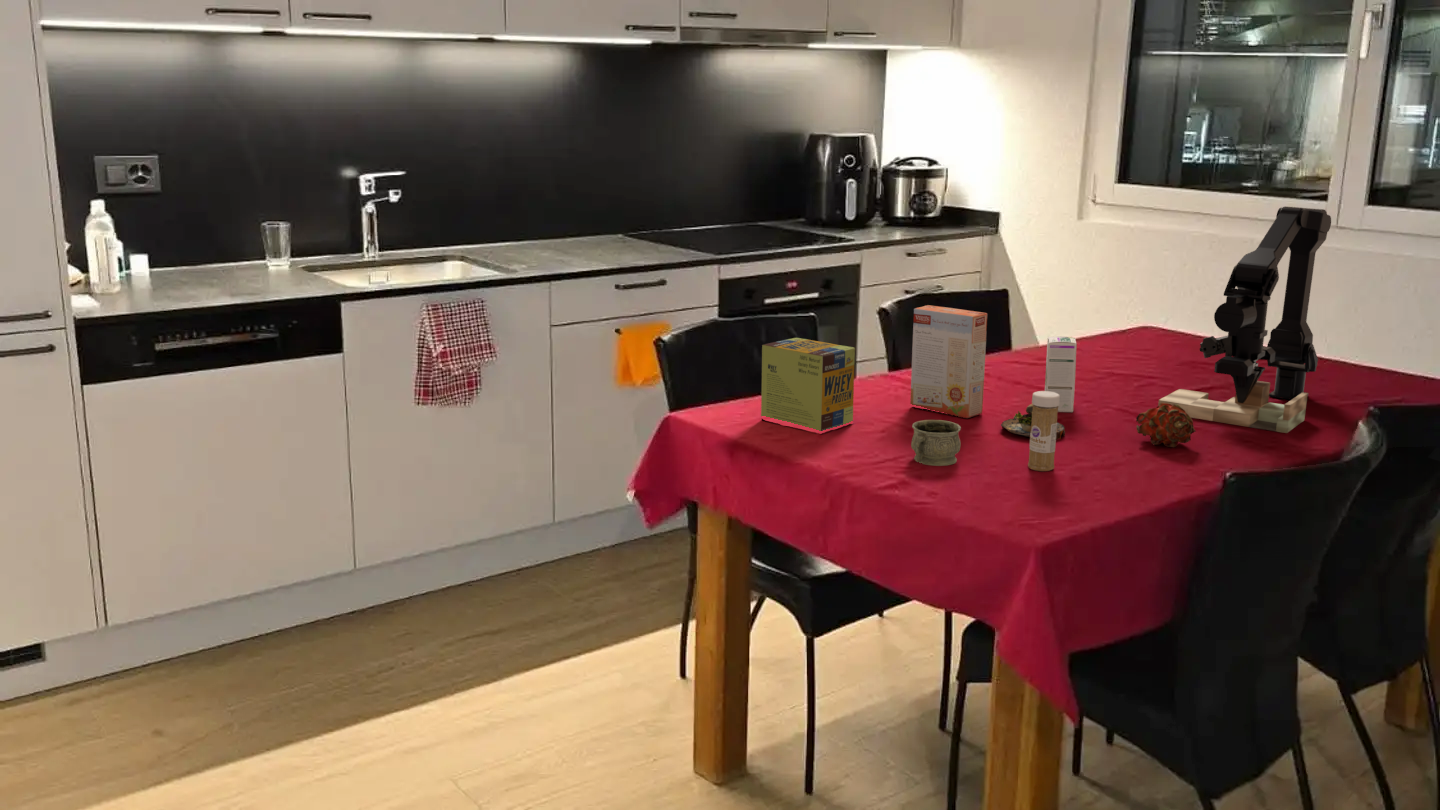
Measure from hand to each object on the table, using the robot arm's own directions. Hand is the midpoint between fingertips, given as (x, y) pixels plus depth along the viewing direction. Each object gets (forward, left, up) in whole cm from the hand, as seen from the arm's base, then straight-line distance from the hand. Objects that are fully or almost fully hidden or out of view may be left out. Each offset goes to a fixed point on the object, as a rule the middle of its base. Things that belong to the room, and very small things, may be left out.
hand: (1241, 402), depth 254 cm
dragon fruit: (+27, -6, -4) cm, 28 cm away
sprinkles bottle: (+55, -17, -4) cm, 58 cm away
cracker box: (+31, -49, -4) cm, 58 cm away
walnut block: (-5, +1, -1) cm, 5 cm away
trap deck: (-1, -2, -3) cm, 4 cm away
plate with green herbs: (+35, -28, -4) cm, 45 cm away
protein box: (+56, -66, -4) cm, 87 cm away
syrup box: (+15, -32, -4) cm, 35 cm away
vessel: (+62, -34, -4) cm, 71 cm away
